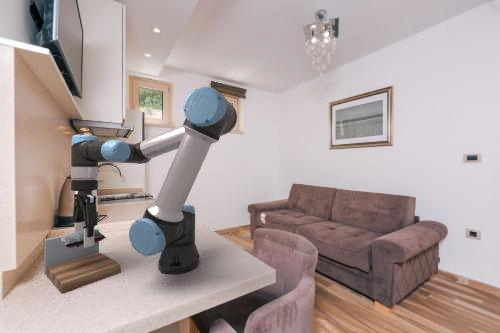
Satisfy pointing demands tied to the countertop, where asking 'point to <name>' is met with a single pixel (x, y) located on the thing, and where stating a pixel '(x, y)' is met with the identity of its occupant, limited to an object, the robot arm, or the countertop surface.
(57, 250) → the backboard
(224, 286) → the countertop surface
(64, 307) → the countertop surface
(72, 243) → the packaged food
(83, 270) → the plinth
